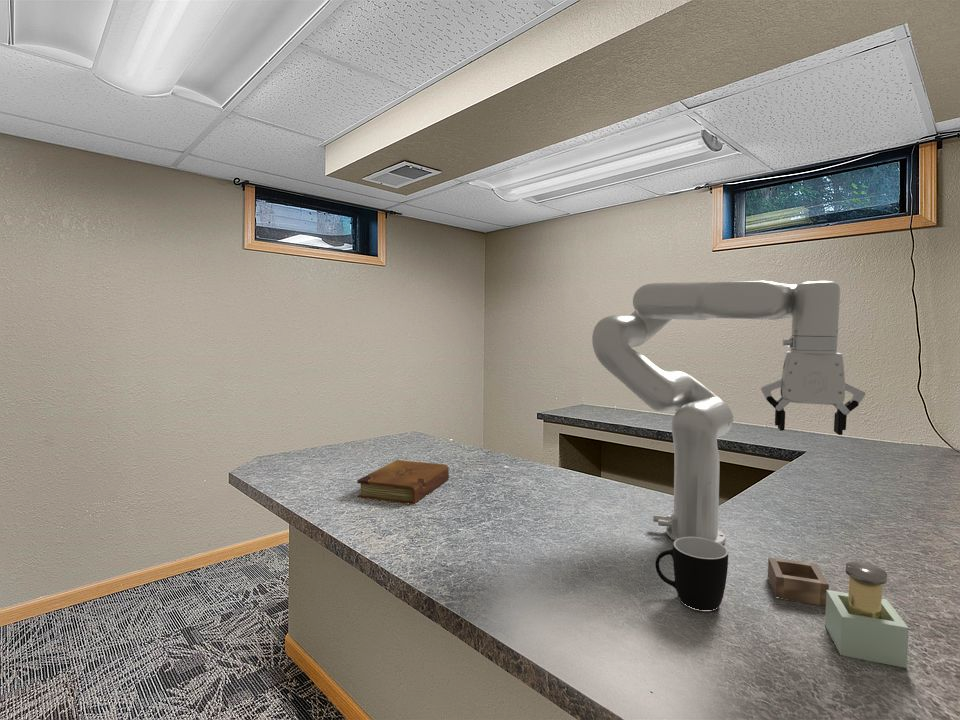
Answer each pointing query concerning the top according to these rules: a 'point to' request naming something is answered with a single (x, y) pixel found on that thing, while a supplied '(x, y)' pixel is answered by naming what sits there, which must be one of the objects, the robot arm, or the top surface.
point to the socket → (867, 632)
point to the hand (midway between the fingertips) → (808, 431)
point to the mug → (697, 571)
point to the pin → (865, 589)
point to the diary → (403, 481)
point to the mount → (797, 581)
